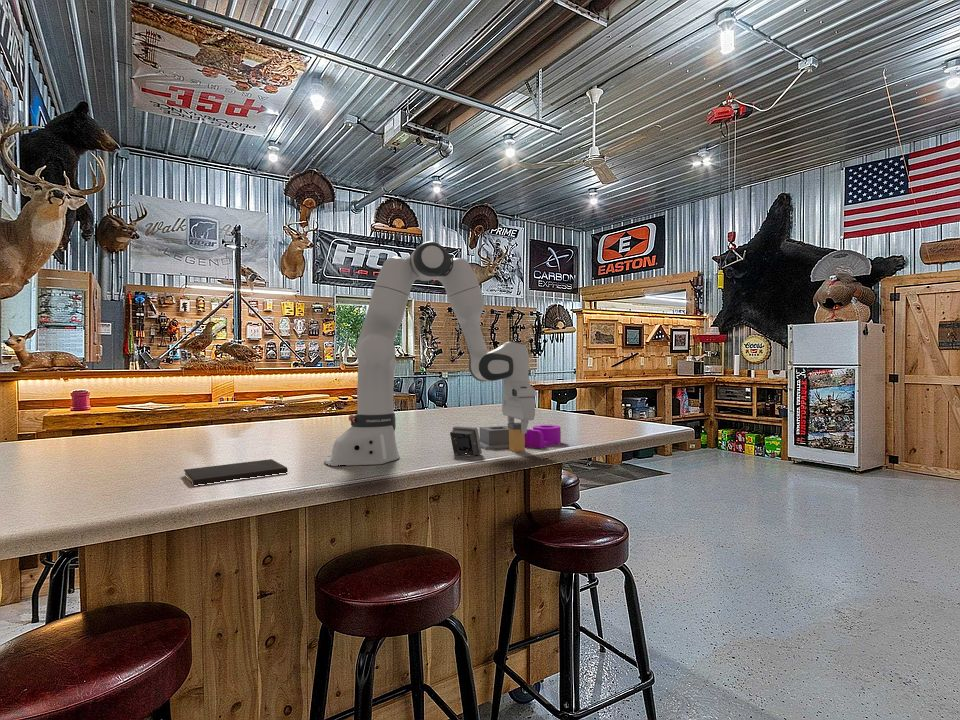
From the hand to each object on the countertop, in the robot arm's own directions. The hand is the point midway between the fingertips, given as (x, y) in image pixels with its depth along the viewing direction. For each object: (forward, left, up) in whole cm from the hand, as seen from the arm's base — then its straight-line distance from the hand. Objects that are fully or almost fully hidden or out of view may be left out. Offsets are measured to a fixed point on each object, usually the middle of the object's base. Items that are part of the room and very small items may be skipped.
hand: (517, 431), depth 176 cm
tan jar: (0, 0, -6) cm, 6 cm away
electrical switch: (-18, -1, -7) cm, 20 cm away
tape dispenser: (+13, +9, -7) cm, 17 cm away
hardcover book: (-85, -5, -7) cm, 86 cm away
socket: (-2, +13, -6) cm, 15 cm away
